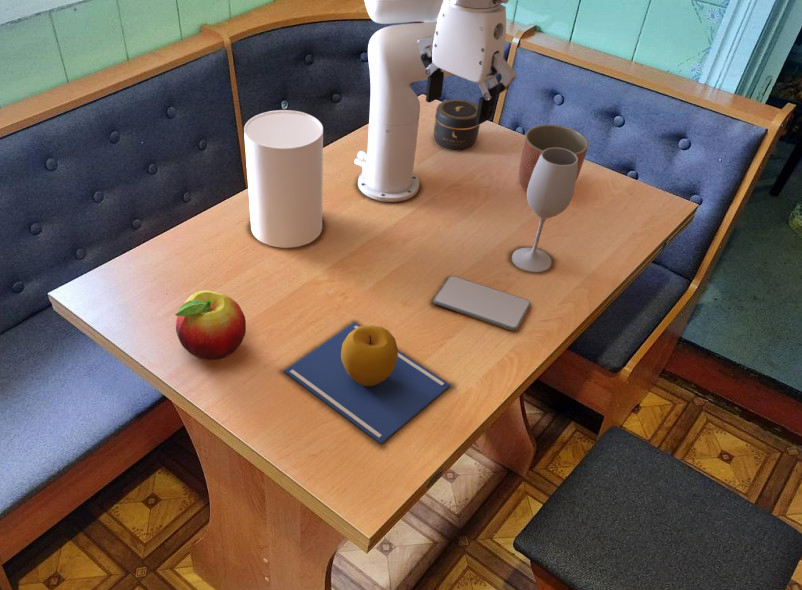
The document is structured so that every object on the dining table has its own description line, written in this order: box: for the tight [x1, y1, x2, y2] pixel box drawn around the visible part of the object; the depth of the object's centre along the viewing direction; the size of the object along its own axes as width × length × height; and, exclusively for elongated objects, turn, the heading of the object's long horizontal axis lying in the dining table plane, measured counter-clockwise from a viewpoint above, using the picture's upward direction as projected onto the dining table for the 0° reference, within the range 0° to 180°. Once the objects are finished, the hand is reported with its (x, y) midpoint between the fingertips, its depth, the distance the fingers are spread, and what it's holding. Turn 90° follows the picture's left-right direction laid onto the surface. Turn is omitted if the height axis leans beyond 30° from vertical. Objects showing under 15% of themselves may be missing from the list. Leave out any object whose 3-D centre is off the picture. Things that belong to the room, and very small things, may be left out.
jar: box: [433, 98, 481, 152], centre depth 161 cm, size 10×10×8 cm
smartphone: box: [433, 275, 532, 331], centre depth 124 cm, size 8×1×15 cm
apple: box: [341, 324, 399, 386], centre depth 108 cm, size 9×8×9 cm
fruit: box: [174, 289, 247, 361], centre depth 112 cm, size 11×11×10 cm
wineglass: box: [511, 148, 578, 273], centre depth 126 cm, size 8×8×21 cm
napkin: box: [283, 321, 451, 445], centre depth 111 cm, size 20×16×1 cm
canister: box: [243, 109, 324, 249], centre depth 132 cm, size 14×14×20 cm
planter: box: [518, 124, 590, 192], centre depth 147 cm, size 12×12×11 cm
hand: (457, 110), depth 113 cm, fingers open, 9 cm apart
